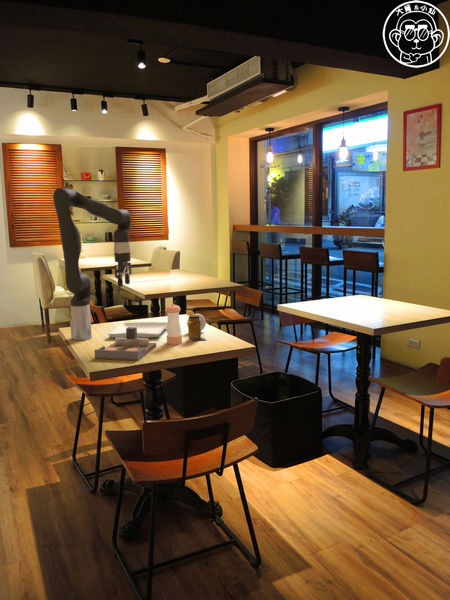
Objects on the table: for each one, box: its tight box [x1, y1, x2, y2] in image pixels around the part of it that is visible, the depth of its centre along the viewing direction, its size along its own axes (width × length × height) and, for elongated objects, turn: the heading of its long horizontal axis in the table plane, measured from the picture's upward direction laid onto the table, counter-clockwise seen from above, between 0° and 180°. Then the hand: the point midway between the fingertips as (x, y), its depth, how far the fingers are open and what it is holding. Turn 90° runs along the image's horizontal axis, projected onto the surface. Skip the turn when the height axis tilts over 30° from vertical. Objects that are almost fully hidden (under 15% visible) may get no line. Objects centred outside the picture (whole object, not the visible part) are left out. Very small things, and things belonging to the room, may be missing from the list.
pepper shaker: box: [165, 303, 183, 346], centre depth 252 cm, size 7×7×19 cm
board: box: [105, 342, 157, 356], centre depth 241 cm, size 20×14×2 cm
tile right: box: [125, 348, 139, 351], centre depth 230 cm, size 5×5×2 cm
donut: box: [186, 313, 207, 332], centre depth 274 cm, size 10×4×10 cm, turn 107°
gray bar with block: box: [114, 327, 150, 346], centre depth 243 cm, size 16×3×8 cm, turn 78°
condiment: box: [186, 314, 207, 342], centre depth 258 cm, size 7×8×12 cm
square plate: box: [107, 321, 168, 339], centre depth 275 cm, size 27×27×4 cm
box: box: [94, 345, 146, 362], centre depth 230 cm, size 20×9×4 cm, turn 78°
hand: (124, 285), depth 253 cm, fingers open, 8 cm apart
